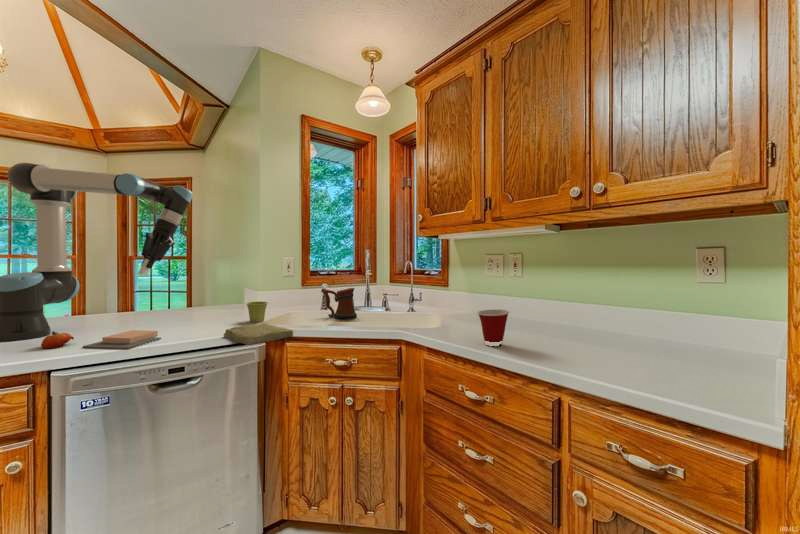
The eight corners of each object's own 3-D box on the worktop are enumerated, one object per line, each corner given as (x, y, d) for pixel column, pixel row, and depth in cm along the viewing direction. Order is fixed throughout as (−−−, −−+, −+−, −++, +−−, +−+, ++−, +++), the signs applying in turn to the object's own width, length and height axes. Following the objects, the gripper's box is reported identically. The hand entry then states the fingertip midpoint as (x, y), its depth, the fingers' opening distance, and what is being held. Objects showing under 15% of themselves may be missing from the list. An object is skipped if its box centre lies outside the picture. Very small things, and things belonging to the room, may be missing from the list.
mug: (317, 319, 171) (317, 288, 171) (324, 315, 183) (324, 286, 182) (354, 319, 170) (354, 288, 169) (359, 315, 181) (359, 286, 181)
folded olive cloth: (264, 330, 146) (264, 321, 146) (294, 337, 134) (294, 328, 134) (219, 338, 132) (219, 329, 132) (247, 347, 119) (247, 336, 119)
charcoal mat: (82, 347, 115) (82, 346, 115) (120, 338, 129) (120, 336, 129) (128, 349, 114) (128, 347, 114) (161, 339, 127) (161, 337, 127)
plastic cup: (474, 340, 129) (474, 308, 128) (504, 341, 128) (504, 308, 128) (480, 348, 118) (480, 313, 118) (512, 349, 118) (513, 313, 117)
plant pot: (272, 320, 165) (272, 302, 165) (254, 324, 158) (254, 304, 157) (259, 318, 171) (259, 301, 170) (241, 321, 163) (241, 303, 162)
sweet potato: (68, 337, 123) (70, 324, 120) (77, 352, 121) (78, 339, 118) (37, 345, 116) (37, 331, 113) (45, 361, 114) (46, 347, 111)
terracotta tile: (132, 335, 131) (102, 343, 119) (132, 330, 130) (102, 337, 118) (157, 336, 130) (130, 344, 118) (157, 330, 130) (130, 338, 118)
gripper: (187, 228, 147) (162, 281, 143) (163, 221, 150) (137, 272, 146) (174, 222, 140) (146, 277, 135) (148, 214, 143) (121, 268, 138)
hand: (142, 274), depth 140 cm, fingers closed
